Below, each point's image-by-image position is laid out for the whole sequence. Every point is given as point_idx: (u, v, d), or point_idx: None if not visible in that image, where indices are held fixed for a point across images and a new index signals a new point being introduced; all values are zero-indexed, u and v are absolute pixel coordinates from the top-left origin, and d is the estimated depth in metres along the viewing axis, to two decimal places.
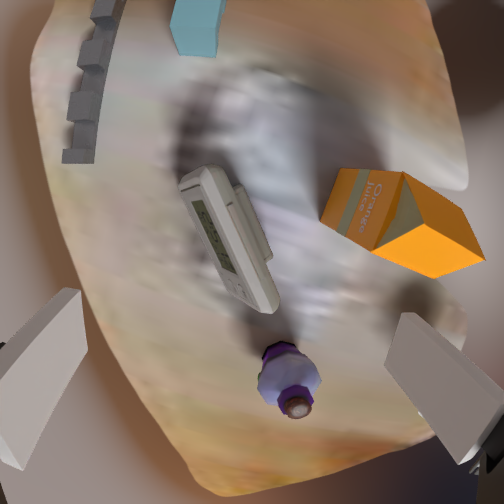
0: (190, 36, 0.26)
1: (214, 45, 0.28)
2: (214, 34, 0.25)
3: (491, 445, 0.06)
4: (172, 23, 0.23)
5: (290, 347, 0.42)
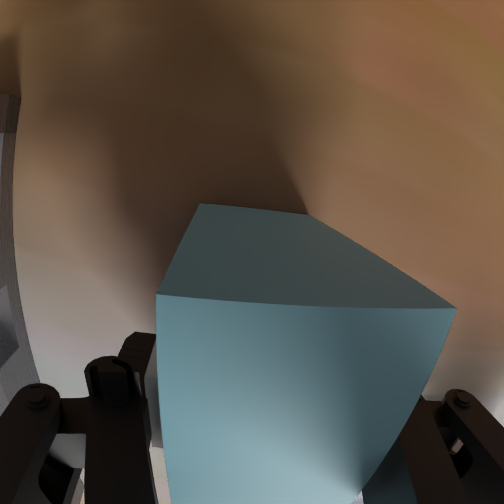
0: None
1: None
2: None
3: None
4: None
5: None
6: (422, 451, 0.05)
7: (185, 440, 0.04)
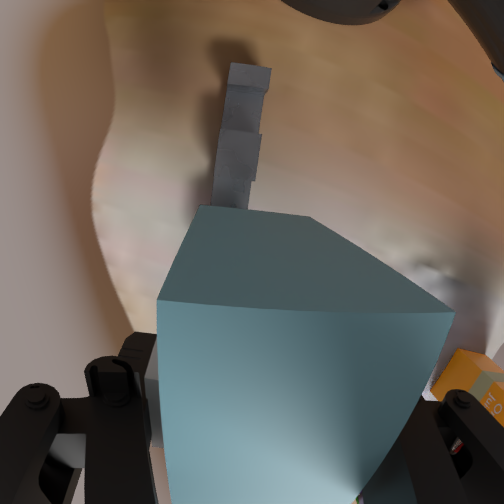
0: None
1: None
2: None
3: None
4: None
5: None
6: (422, 451, 0.05)
7: (186, 443, 0.04)
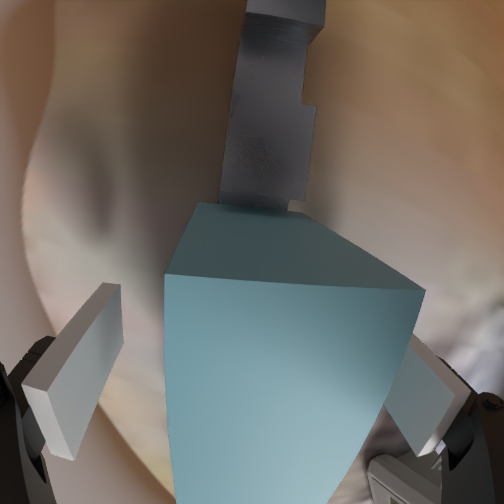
0: None
1: None
2: None
3: (452, 441, 0.06)
4: None
5: None
6: (501, 447, 0.04)
7: (187, 408, 0.05)
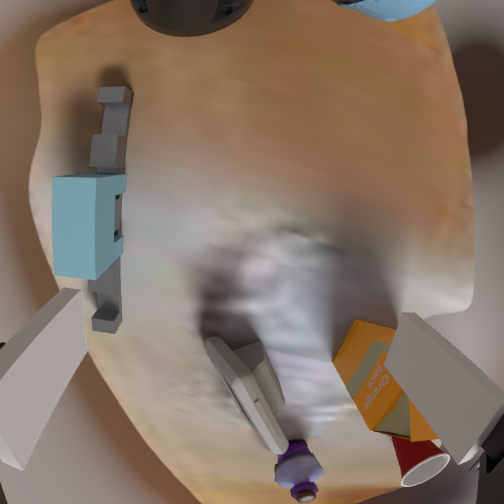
0: None
1: (111, 263, 0.30)
2: (101, 273, 0.27)
3: (491, 445, 0.06)
4: (56, 272, 0.24)
5: (301, 445, 0.45)
6: None
7: (55, 207, 0.23)
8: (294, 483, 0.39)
